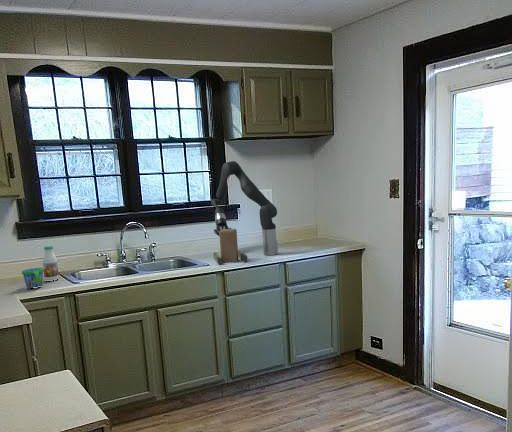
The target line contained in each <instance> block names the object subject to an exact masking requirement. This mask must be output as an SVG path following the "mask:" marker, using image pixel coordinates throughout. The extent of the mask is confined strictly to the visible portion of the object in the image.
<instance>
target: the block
mask: <svg viewBox="0 0 512 432" xmlns="http://www.w3.org/2000/svg"><path fill="white" fill-rule="evenodd" d="M219 236H220V237H219ZM219 236H218V237H219V246H220V247H219V248H220V249H219V250H220V257H221V259H222V263H236V262H238V259H239V257H238V250H239V249H238V247H239V246H238V233H237V229H236V228H231V229H222V230H221V231H220V232H219Z"/></svg>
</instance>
